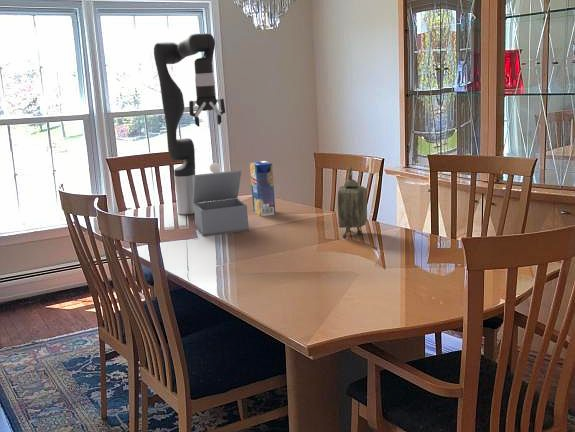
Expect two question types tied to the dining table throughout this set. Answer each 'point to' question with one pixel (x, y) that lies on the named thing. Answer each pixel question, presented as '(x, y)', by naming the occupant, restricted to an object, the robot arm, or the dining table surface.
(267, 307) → the dining table surface
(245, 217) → the carton
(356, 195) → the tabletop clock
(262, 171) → the beverage box
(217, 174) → the lid flap
